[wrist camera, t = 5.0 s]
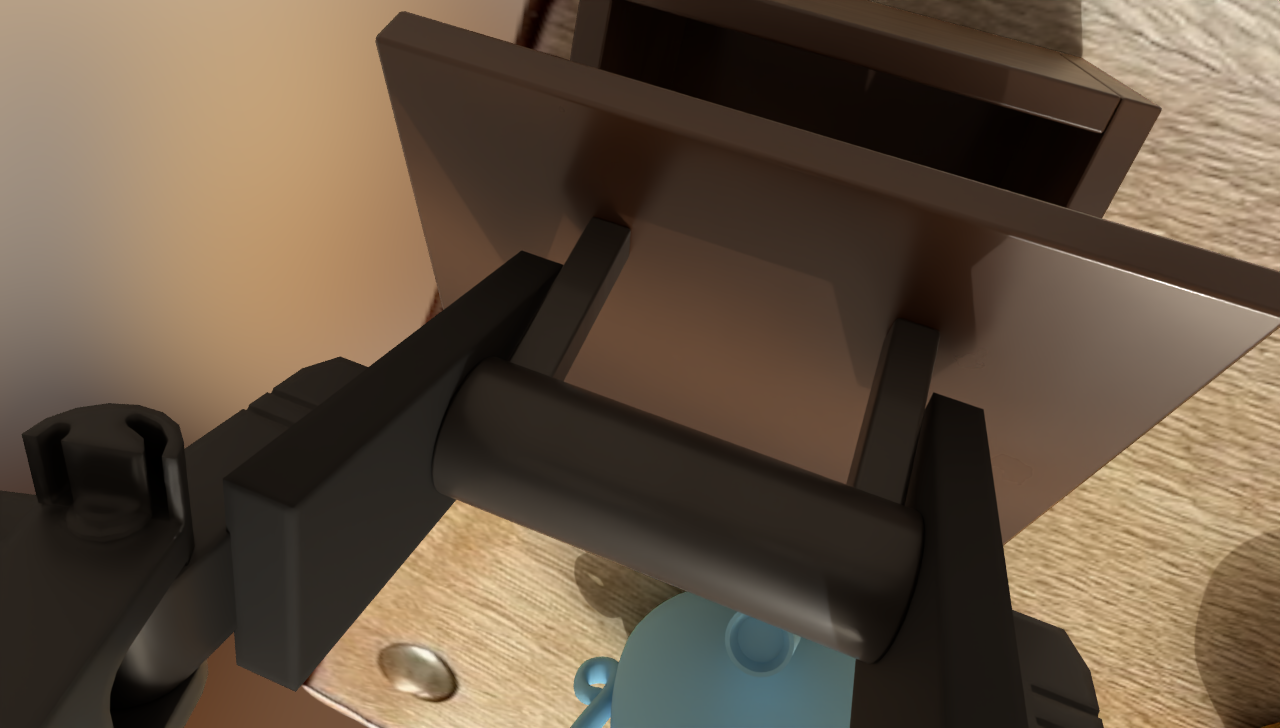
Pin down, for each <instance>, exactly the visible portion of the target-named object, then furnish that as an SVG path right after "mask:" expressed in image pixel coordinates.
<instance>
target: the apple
mask: <svg viewBox="0 0 1280 728" xmlns="http://www.w3.org/2000/svg"><path fill="white" fill-rule="evenodd" d="M1261 728H1280V722H1278V723H1275V724H1271V725H1266V726H1264V727H1261Z"/></svg>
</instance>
